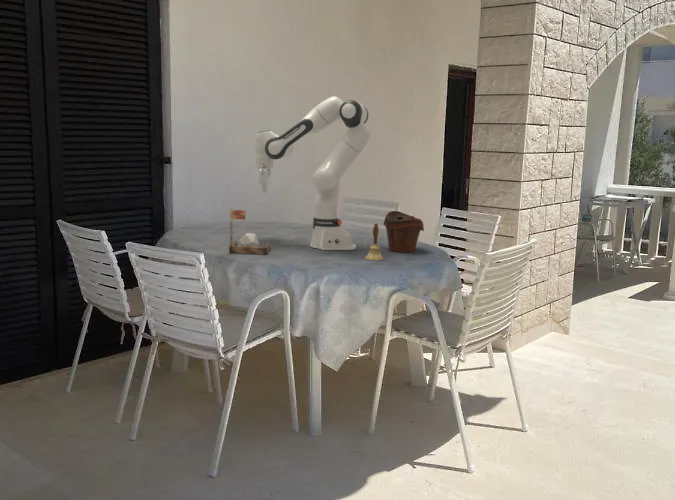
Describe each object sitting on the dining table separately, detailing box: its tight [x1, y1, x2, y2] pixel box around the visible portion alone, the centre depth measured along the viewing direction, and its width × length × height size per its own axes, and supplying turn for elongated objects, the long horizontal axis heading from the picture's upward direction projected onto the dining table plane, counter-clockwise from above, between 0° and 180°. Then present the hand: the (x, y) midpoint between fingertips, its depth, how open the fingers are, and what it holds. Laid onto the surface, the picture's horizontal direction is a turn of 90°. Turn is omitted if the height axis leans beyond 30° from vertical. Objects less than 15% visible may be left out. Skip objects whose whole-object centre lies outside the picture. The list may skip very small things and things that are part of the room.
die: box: [239, 232, 260, 247], centre depth 310 cm, size 8×9×10 cm
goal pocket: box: [228, 208, 271, 256], centre depth 308 cm, size 17×16×20 cm
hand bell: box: [364, 223, 384, 261], centre depth 301 cm, size 8×8×16 cm
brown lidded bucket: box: [383, 210, 425, 253], centre depth 324 cm, size 18×20×18 cm
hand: (264, 192), depth 331 cm, fingers closed
